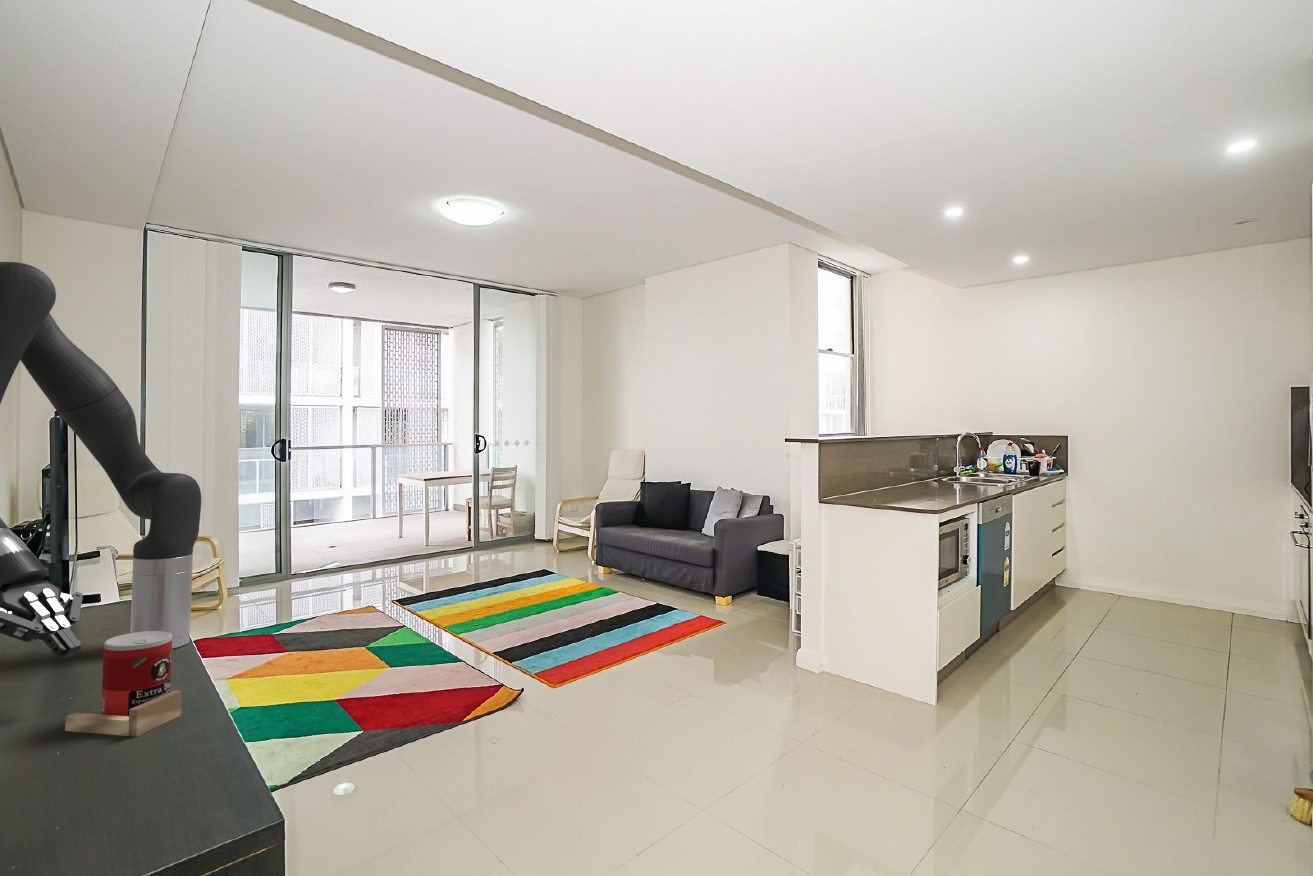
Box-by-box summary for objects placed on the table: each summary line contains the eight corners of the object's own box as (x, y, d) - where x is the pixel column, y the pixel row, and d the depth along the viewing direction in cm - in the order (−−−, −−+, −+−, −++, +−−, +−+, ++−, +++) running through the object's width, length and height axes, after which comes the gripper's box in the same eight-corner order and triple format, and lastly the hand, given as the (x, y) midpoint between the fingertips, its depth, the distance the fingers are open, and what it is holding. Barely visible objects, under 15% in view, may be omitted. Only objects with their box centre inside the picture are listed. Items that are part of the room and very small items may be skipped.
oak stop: (65, 731, 87) (66, 704, 87) (114, 710, 94) (115, 686, 94) (136, 736, 86) (137, 710, 86) (181, 715, 93) (181, 690, 93)
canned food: (134, 728, 89) (137, 647, 89) (85, 723, 90) (88, 643, 90) (183, 707, 96) (186, 632, 96) (137, 702, 97) (140, 629, 98)
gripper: (-36, 556, 89) (41, 650, 88) (62, 542, 102) (130, 623, 101) (-71, 593, 90) (5, 687, 88) (31, 574, 103) (98, 656, 101)
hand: (72, 653), depth 95 cm, fingers closed
